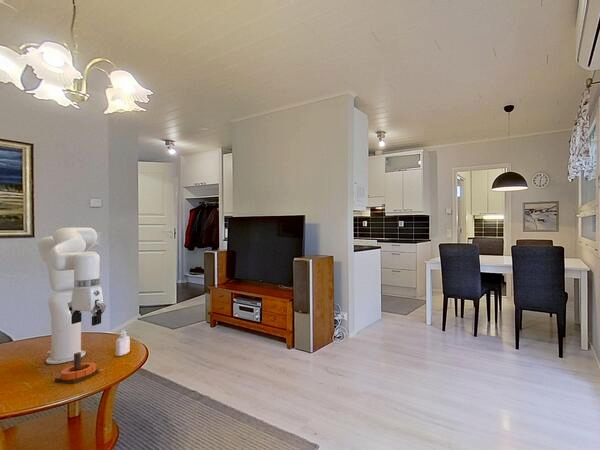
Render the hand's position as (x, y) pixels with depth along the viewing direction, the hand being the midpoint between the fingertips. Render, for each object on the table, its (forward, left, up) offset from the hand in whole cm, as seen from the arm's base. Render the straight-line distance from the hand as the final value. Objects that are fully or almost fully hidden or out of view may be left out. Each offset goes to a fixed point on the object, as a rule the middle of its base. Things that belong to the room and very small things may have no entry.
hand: (86, 323), depth 128 cm
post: (-3, -1, -22) cm, 22 cm away
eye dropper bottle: (-7, +21, -22) cm, 31 cm away
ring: (-2, -1, -21) cm, 21 cm away
